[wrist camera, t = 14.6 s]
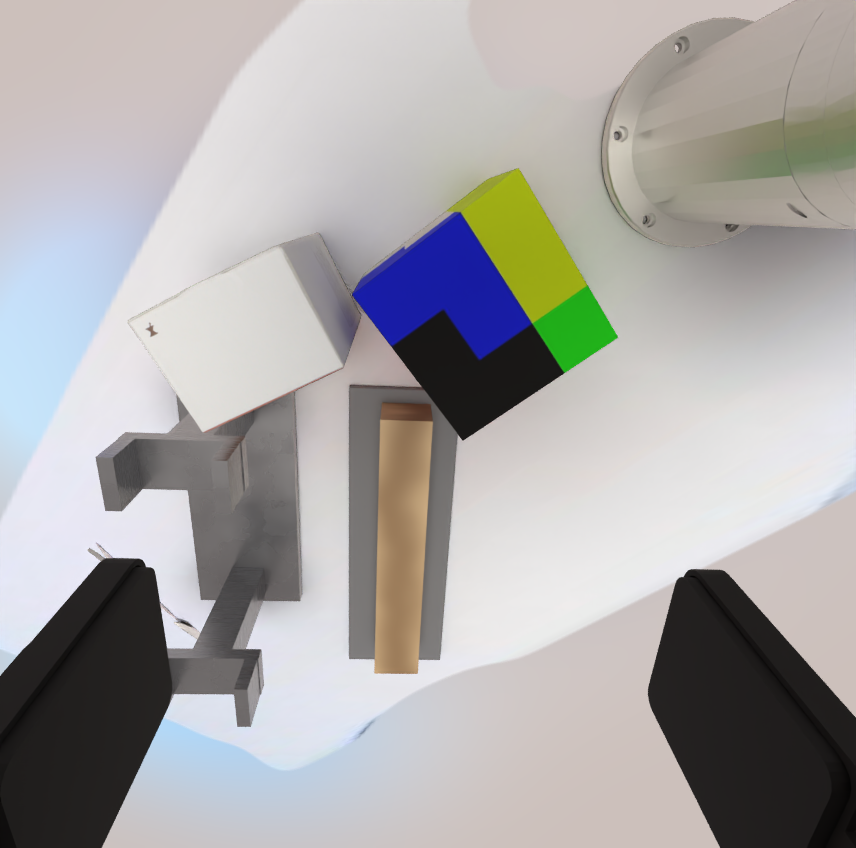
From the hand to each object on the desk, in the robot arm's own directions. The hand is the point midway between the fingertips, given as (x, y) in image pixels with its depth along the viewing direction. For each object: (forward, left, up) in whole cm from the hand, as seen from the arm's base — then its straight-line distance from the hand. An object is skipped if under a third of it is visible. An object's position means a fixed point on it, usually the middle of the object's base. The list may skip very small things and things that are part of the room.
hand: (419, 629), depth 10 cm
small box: (+8, -1, -31) cm, 32 cm away
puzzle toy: (-4, -2, -31) cm, 31 cm away
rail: (0, +17, -30) cm, 34 cm away
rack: (+12, +14, -30) cm, 35 cm away
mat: (0, +18, -30) cm, 35 cm away
